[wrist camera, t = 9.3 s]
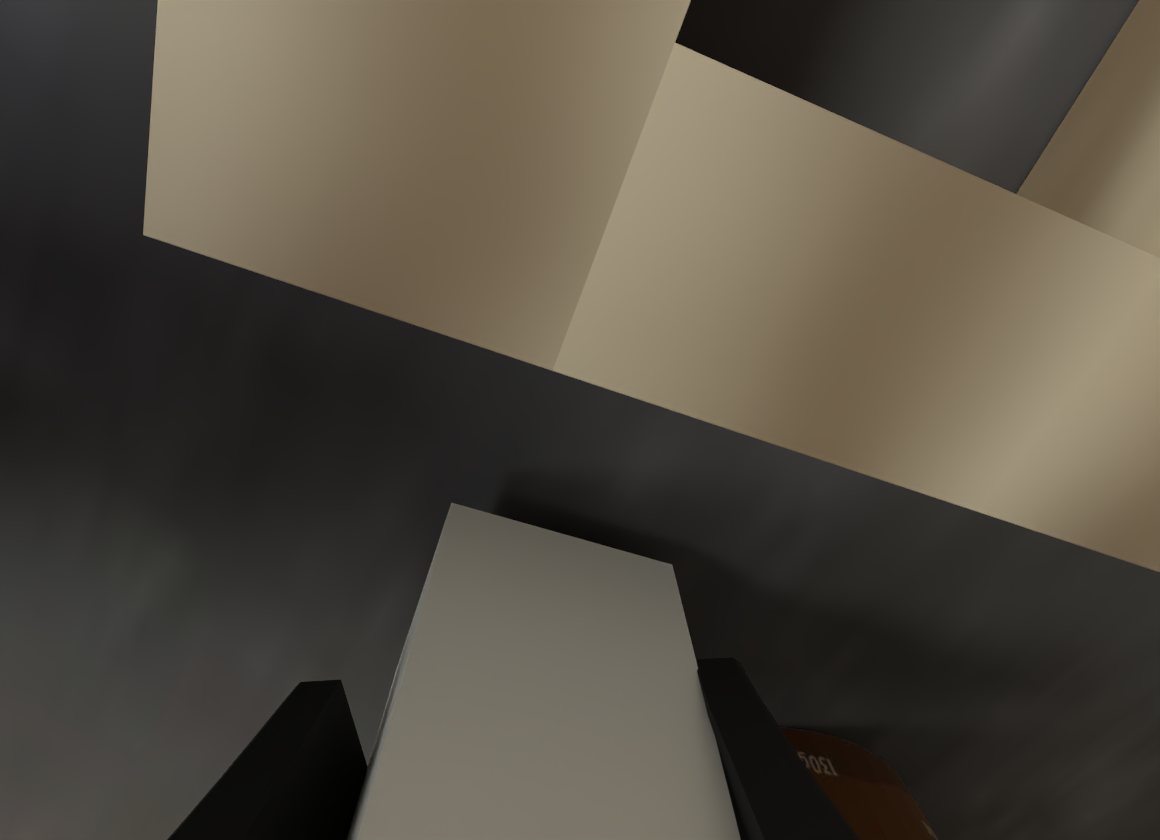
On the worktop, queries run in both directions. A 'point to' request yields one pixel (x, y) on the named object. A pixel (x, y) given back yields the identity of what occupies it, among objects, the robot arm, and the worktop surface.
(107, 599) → the worktop surface
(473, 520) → the grey upright block
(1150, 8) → the socket block
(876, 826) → the food container
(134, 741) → the worktop surface
